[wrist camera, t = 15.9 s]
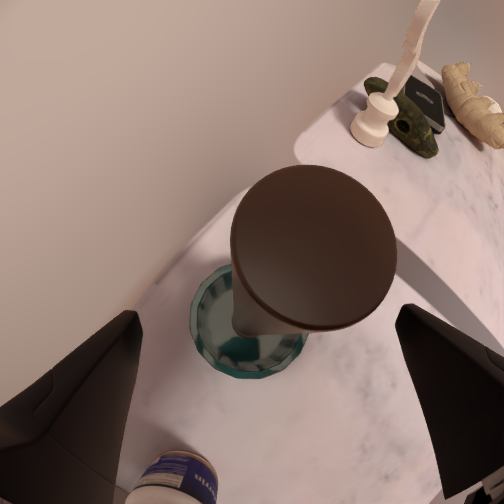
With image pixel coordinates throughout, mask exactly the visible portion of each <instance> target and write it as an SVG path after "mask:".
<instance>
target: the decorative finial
mask: <svg viewBox="0 0 504 504" xmlns="http://www.w3.org/2000/svg"><path fill="white" fill-rule="evenodd" d="M440 1H441V0H421V2H420V3H419V5H418V7H417V9H416V11H415V13H414V16H413V18H412V20H411V23H410V26H409V29H408V32H407V36H406V40H405V42H404V44H403V46H402V47H404V48H405V49H406V50H405V53H404V55H403V57H402V59H401V61H400V63H399V64H398V66H397V68H396V70H395V72H394V73H393V75H392V77H391V79H390V81H389V84H388V87H387V89H386V91H385V93H381V92H376V93H371V94H370V95H369V97H368V99H367V106H368V107H367V109H366V111H360V112H358V113H357V114H356V116H355V118H354V120H353V122H352V124H351V126H350V129H351V132H352V134H353V136H354V137H355V138H356V139H357V140H358V141H359V142H360V143H362V144H364V145H366V146H369V147H378V146H380V145H381V144H382V142H383V141H384V140H385V138H386V137H387V135H388V132H389V129H388V126H387V123H388V121H389V120H393V119H395V117H396V116H397V114H398V112H399V109H398V107H397V104H396V102H395V101H394V100H393V97H396V96H397V94H398V93H399V92H400V90H401V89H402V87H403V86H404V84H405V83H406V81H407V80H408V78H409V77H410V75H411V73H412V72H413V70H414V68H415V66H416V64H417V61H418V59H419V56H420V52H421V47H422V41H423V37H424V34H425V31H426V28H427V26H428V23H429V21H430V19H431V17H432V15H433V13H434V11H435V10H436V8H437V6H438V4H439V3H440Z"/></svg>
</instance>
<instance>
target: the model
mask: <svg viewBox="0 0 504 504" xmlns="http://www.w3.org/2000/svg"><path fill="white" fill-rule="evenodd" d="M469 65H470V63H469V64H466V63H464V62H462V63H461V62H460V63H457V64H455V65H451V66H444V67H443V69H442V80H443V85H444V91H445V95H446V101H447V103H448V105H449V106H450V108H451V110H452V112H453V114H454V115H455V117H456V119H457V121H458V122H459V123H461V124H462V125H464V127H465V128H466V129H467V130H469V132H470V133H471V134H472V135H474V136H475V137H477V138H478V139H479V140H480V141H481V142H485V143H487V144H488V145H489V146H491V147H492V148H494V149H500V148H504V126H502V124H503V122H504V113H499V112H498V113H496V114H495V113H492V112H491V111H488V110H487V109H488V108H489V107H490V106H491V105H493V104H495V102H493V101H494V100H493V101H491V100H490V99H489V98H487V97H481V98H479V97H477V96H476V94H480V92H479V93H476V92H478V90H479V88H482V87H483V86H482V87H481V86H479V85H482V84H478V83H477V82H476V81H468V79H466V76H467V75H468V74H469V73H470V67H469ZM492 103H493V104H492Z"/></svg>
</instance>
